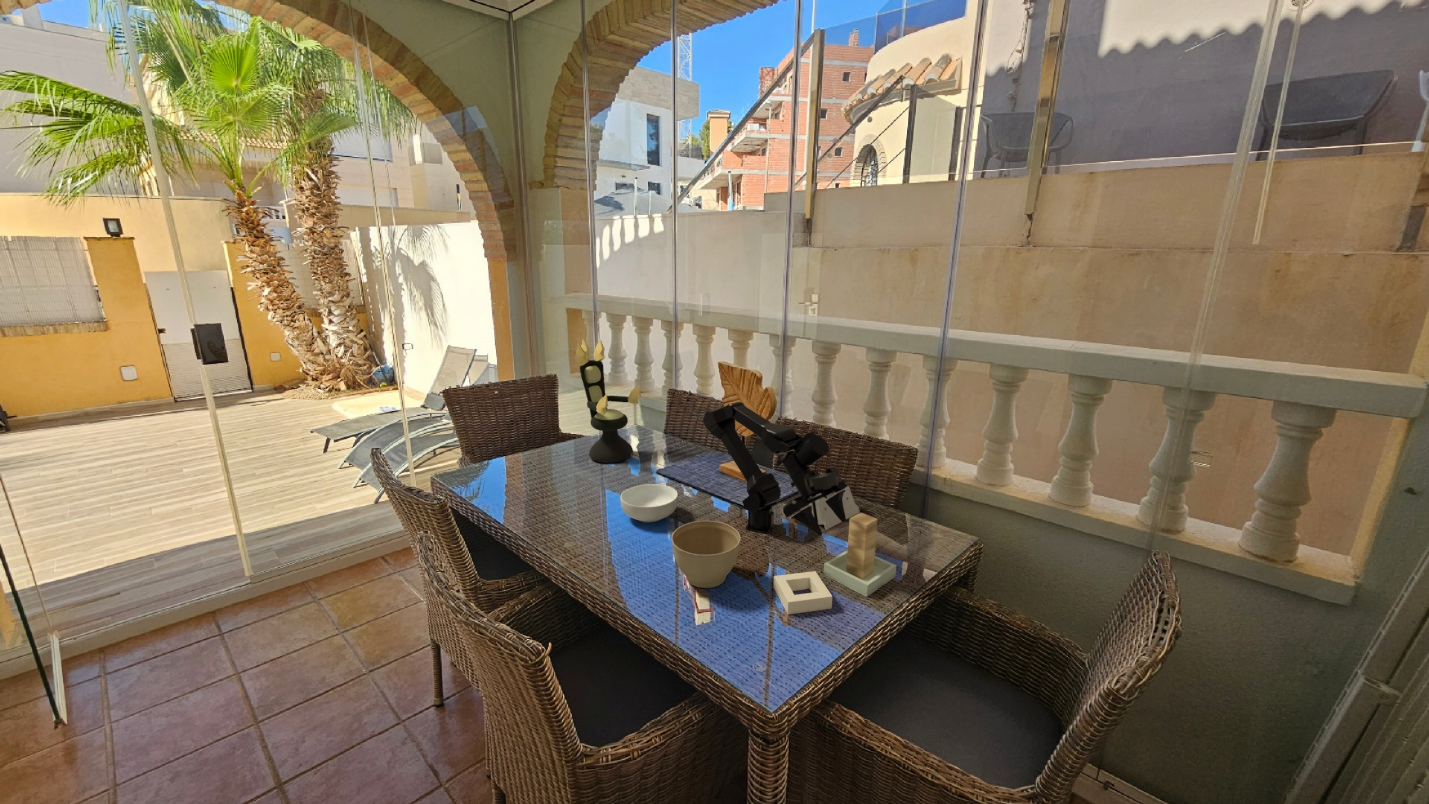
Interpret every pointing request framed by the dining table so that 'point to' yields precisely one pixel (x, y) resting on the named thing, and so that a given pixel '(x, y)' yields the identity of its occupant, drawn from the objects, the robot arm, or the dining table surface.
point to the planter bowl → (705, 551)
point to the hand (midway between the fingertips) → (833, 528)
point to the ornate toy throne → (603, 407)
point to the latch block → (802, 602)
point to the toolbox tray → (866, 586)
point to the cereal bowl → (649, 502)
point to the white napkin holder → (827, 516)
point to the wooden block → (861, 545)
